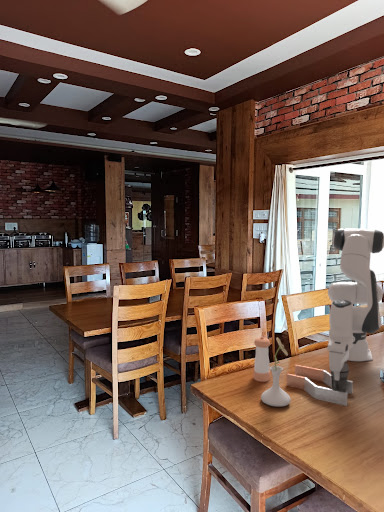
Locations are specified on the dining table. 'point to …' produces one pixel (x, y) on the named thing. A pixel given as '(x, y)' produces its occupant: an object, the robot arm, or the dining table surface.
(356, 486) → the dining table surface
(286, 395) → the flower in vase
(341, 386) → the beverage cup
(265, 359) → the pepper shaker
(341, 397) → the rail track
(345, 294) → the robot arm
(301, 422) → the dining table surface
